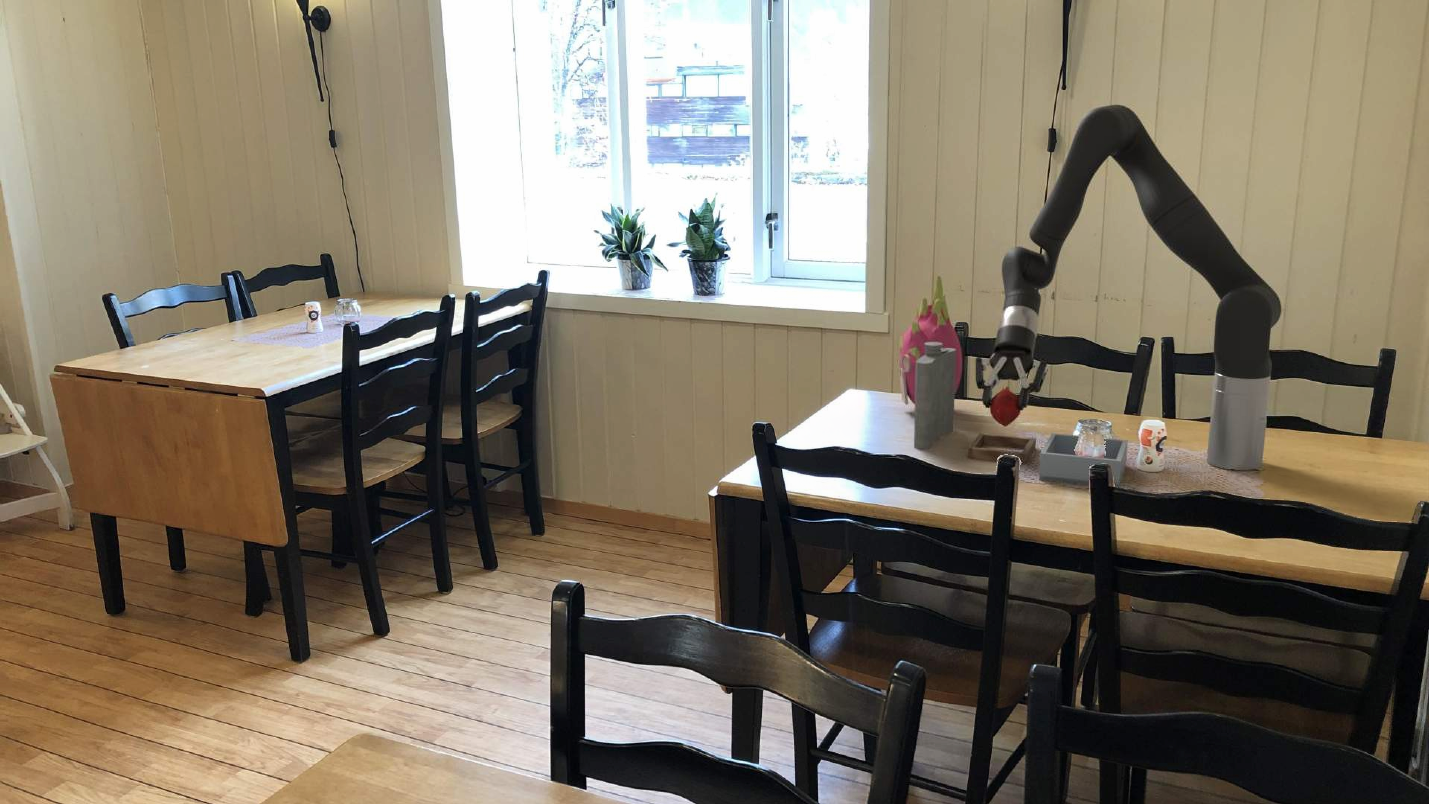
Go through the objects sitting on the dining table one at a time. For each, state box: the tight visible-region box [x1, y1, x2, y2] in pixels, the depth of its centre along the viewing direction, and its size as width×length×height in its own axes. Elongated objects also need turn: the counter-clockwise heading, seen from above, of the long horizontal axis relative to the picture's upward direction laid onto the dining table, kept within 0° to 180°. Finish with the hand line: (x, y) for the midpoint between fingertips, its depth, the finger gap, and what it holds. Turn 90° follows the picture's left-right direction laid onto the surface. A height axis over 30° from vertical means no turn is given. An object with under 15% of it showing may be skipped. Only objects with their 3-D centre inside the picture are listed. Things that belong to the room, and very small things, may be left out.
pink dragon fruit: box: [898, 275, 963, 406], centre depth 242 cm, size 18×14×30 cm
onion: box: [989, 385, 1022, 427], centre depth 212 cm, size 6×6×8 cm
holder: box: [967, 432, 1037, 465], centre depth 214 cm, size 11×11×2 cm
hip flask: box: [913, 342, 956, 450], centre depth 222 cm, size 16×4×20 cm, turn 147°
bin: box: [1038, 432, 1129, 488], centre depth 201 cm, size 14×14×5 cm
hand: (1003, 406), depth 210 cm, fingers closed on onion, 5 cm apart
